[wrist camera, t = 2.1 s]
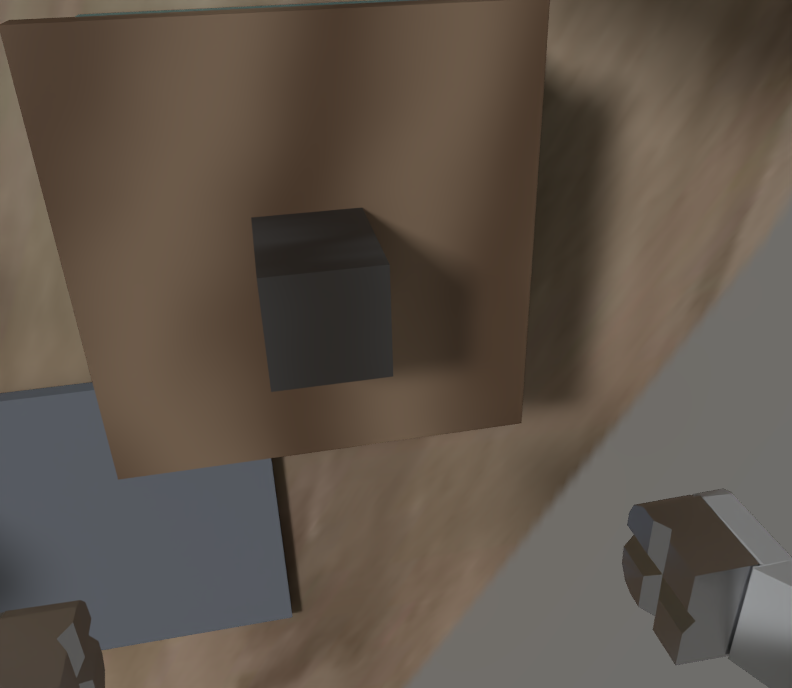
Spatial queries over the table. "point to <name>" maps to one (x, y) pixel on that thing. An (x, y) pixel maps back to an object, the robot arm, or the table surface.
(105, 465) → the tray
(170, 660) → the table surface
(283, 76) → the lid
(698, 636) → the robot arm
